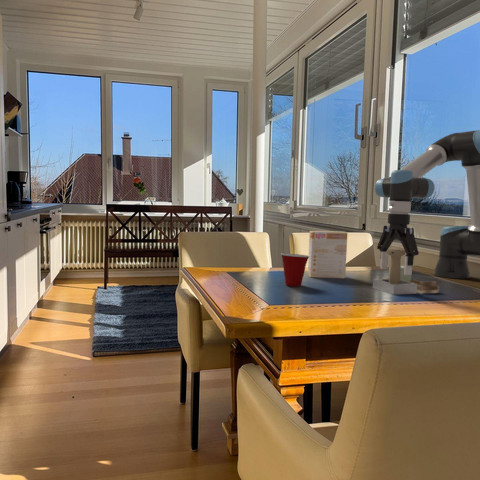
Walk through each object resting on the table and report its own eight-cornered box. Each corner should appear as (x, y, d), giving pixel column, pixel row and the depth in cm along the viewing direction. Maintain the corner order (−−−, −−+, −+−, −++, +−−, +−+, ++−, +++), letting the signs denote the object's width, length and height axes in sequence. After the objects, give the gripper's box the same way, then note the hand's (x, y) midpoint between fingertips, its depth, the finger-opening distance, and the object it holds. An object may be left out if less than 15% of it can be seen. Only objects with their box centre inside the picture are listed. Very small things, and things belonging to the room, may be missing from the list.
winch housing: (394, 287, 172) (395, 278, 172) (416, 293, 161) (417, 284, 160) (372, 288, 169) (373, 278, 168) (393, 294, 157) (393, 284, 157)
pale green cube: (400, 280, 182) (401, 265, 182) (410, 282, 177) (411, 267, 176) (388, 280, 180) (389, 265, 180) (398, 283, 175) (399, 267, 174)
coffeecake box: (341, 275, 195) (343, 231, 194) (345, 278, 188) (348, 232, 186) (307, 274, 195) (309, 230, 193) (310, 277, 188) (312, 231, 186)
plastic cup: (312, 285, 170) (314, 253, 169) (300, 289, 161) (301, 256, 160) (287, 281, 176) (289, 251, 175) (274, 285, 167) (275, 253, 166)
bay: (399, 282, 185) (399, 272, 184) (438, 292, 164) (439, 282, 163) (382, 282, 182) (383, 272, 182) (420, 293, 161) (421, 282, 161)
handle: (398, 292, 161) (401, 251, 159) (382, 290, 165) (384, 249, 164) (405, 291, 164) (407, 250, 163) (389, 288, 169) (391, 249, 167)
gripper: (369, 211, 173) (366, 266, 174) (414, 214, 149) (409, 277, 151) (386, 212, 175) (382, 266, 177) (432, 214, 152) (427, 277, 154)
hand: (395, 271), depth 164 cm, fingers open, 13 cm apart
